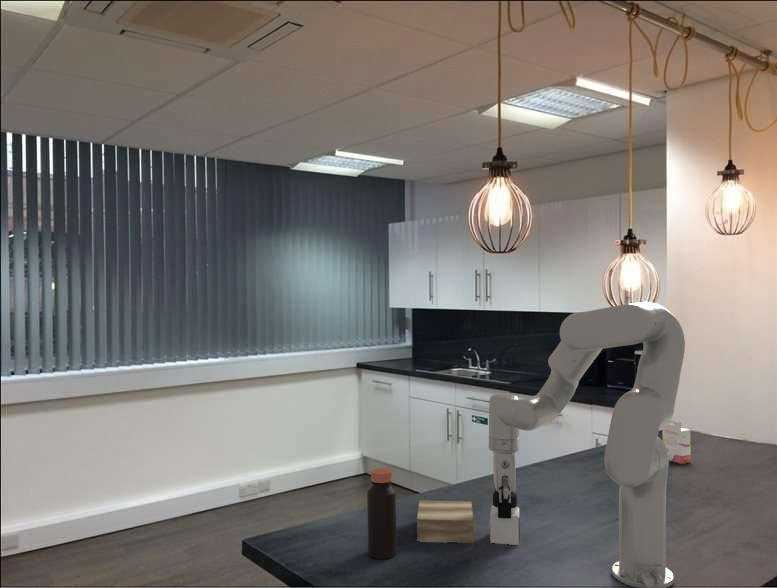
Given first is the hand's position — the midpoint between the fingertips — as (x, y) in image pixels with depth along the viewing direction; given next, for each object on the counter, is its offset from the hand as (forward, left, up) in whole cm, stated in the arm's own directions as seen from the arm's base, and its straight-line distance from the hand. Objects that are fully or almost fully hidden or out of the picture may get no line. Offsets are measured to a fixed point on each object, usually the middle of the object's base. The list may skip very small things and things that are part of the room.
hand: (502, 510), depth 163 cm
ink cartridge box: (+75, -68, -7) cm, 101 cm away
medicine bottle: (0, -1, -7) cm, 7 cm away
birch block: (+4, +14, -7) cm, 17 cm away
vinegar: (-11, +29, -7) cm, 32 cm away
